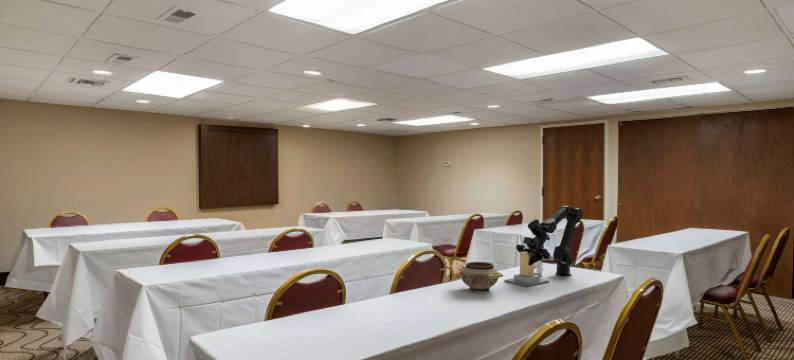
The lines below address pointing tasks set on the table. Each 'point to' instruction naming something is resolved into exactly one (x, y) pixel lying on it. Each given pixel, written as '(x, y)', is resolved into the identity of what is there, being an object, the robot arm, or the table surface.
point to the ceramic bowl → (479, 276)
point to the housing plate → (526, 280)
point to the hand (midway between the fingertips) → (525, 264)
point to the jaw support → (538, 267)
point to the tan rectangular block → (526, 264)
